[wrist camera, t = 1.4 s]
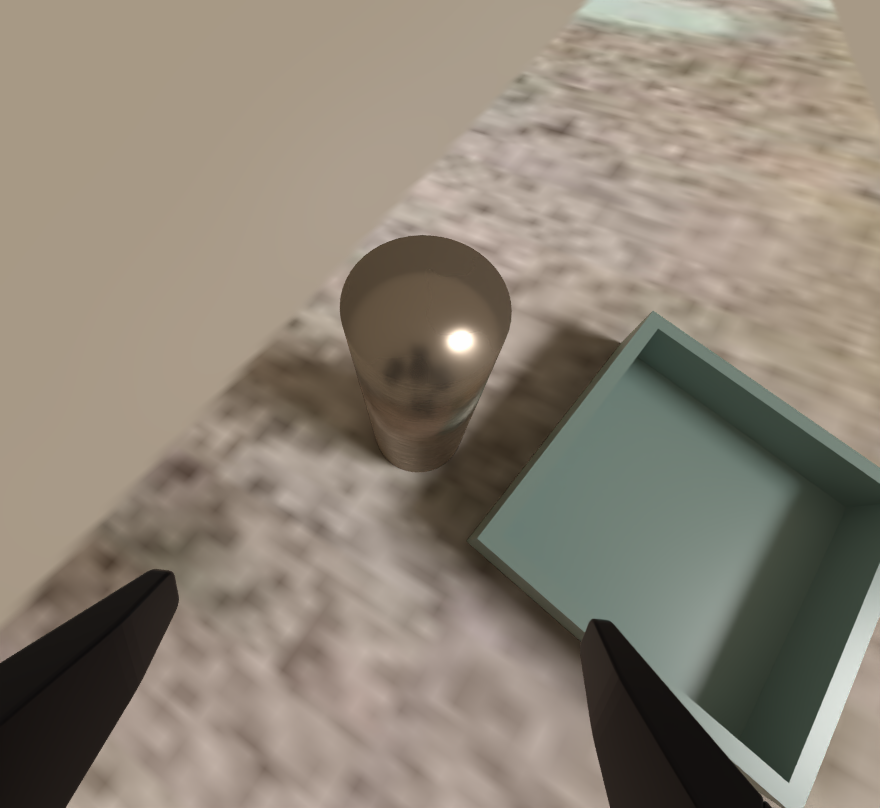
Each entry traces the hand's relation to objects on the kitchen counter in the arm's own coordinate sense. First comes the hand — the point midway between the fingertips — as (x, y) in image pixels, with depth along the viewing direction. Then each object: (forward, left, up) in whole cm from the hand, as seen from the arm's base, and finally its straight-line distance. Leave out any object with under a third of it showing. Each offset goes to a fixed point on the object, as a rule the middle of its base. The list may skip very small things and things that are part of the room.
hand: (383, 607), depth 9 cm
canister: (+7, +5, -13) cm, 16 cm away
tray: (+12, -9, -13) cm, 20 cm away
